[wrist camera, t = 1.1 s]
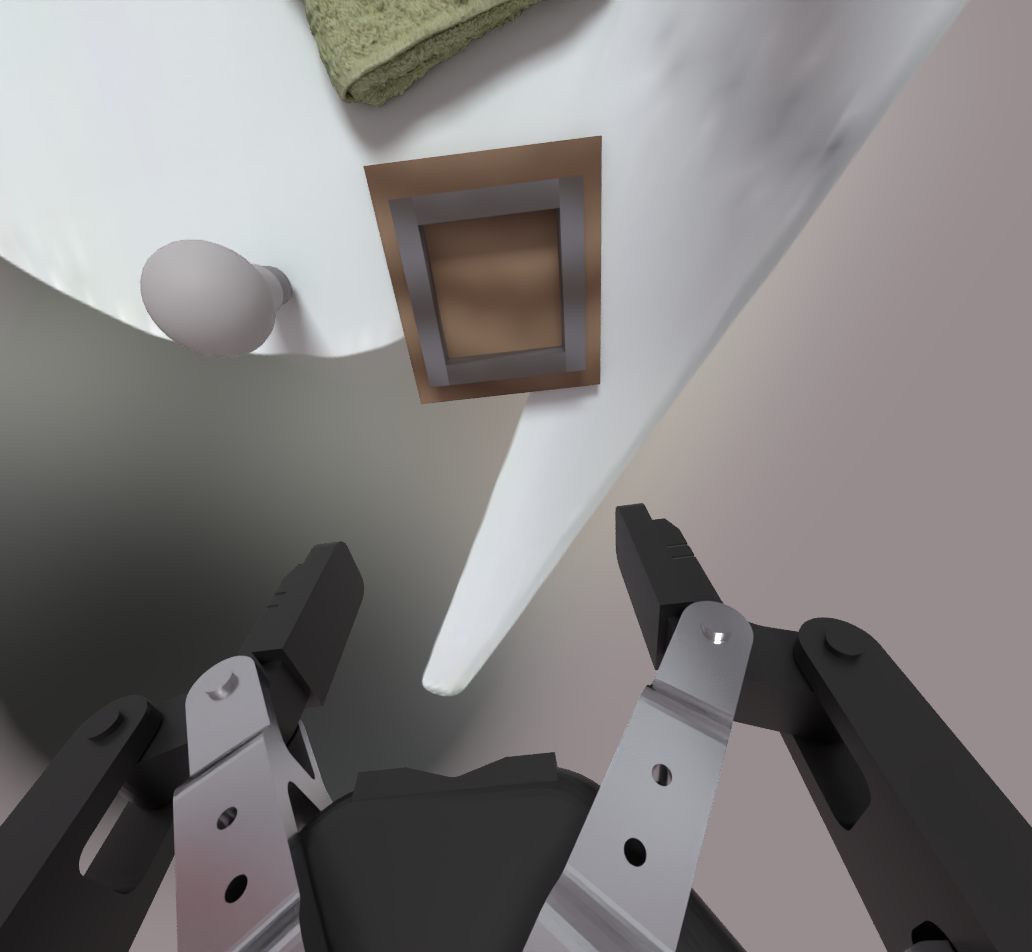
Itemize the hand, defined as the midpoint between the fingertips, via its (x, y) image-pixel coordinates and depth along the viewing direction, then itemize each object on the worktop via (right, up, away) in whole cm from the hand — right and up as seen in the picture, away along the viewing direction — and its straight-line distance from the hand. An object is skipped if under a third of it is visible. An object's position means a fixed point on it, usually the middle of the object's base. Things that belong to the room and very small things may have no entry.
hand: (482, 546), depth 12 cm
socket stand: (0, +16, +18) cm, 24 cm away
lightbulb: (-16, +16, +18) cm, 29 cm away
